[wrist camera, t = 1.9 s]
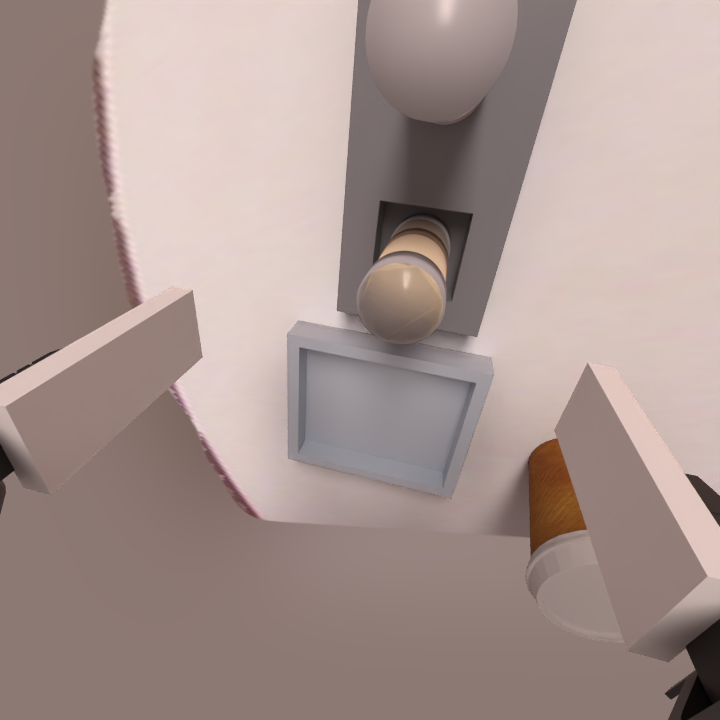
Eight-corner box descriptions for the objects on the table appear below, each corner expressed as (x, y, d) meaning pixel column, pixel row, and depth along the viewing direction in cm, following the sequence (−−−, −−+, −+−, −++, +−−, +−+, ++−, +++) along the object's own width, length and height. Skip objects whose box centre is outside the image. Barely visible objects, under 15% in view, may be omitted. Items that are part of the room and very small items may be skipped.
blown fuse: (456, 217, 25) (454, 269, 16) (443, 276, 27) (435, 351, 18) (396, 208, 26) (360, 253, 16) (388, 266, 28) (352, 335, 19)
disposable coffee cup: (507, 497, 37) (525, 633, 27) (510, 420, 33) (532, 549, 23) (620, 504, 35) (684, 657, 25) (640, 422, 30) (729, 568, 20)
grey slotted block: (567, -4, 19) (734, -211, 7) (475, 318, 29) (485, 449, 17) (373, -17, 21) (257, -208, 9) (347, 295, 30) (275, 401, 18)
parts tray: (491, 357, 30) (493, 374, 28) (451, 478, 38) (451, 498, 35) (298, 320, 32) (287, 333, 30) (297, 441, 40) (288, 458, 38)
